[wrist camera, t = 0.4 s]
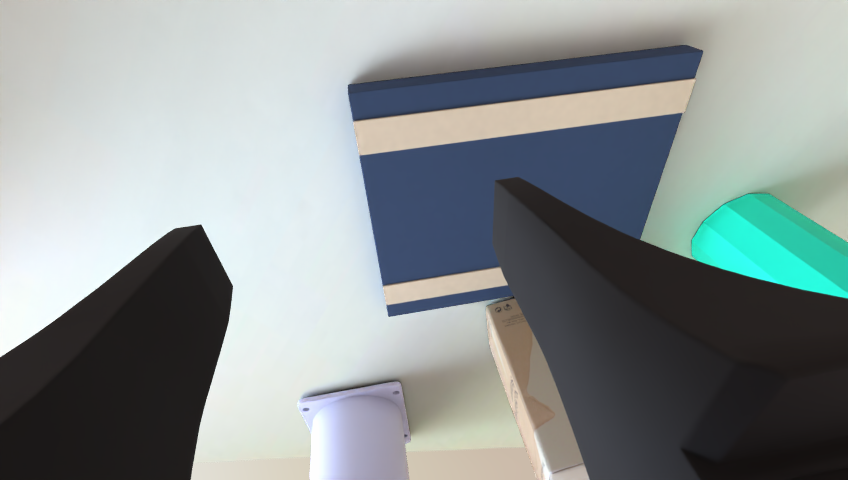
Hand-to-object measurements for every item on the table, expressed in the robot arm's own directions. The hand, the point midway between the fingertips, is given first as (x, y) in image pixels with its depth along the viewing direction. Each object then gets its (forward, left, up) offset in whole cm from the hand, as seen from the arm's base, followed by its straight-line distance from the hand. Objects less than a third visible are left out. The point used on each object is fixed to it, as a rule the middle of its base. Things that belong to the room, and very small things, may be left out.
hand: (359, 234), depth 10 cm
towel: (-6, -8, -10) cm, 14 cm away
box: (-17, -9, -10) cm, 22 cm away
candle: (-12, -24, -10) cm, 29 cm away
